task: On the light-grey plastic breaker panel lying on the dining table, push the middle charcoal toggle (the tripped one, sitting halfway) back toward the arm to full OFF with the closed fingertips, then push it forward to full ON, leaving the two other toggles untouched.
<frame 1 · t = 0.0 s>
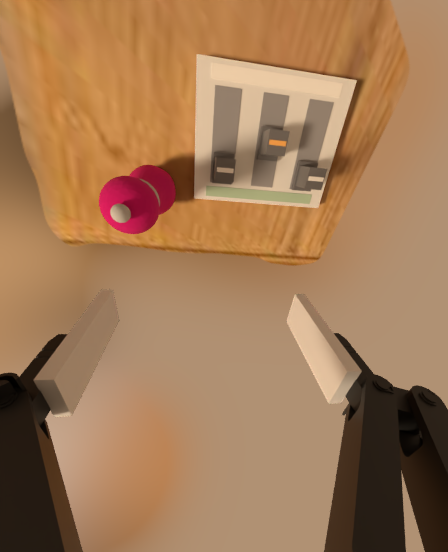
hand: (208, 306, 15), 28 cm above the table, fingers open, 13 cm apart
breaker c: (309, 177, 34), point 4 cm above the table, slide at 4.0 cm
breaker a: (223, 169, 32), point 5 cm above the table, slide at 4.0 cm
breaker tripped: (272, 143, 31), point 4 cm above the table, slide at 0.0 cm
panel: (264, 145, 35), on the table
pepper mill: (157, 187, 37), on the table
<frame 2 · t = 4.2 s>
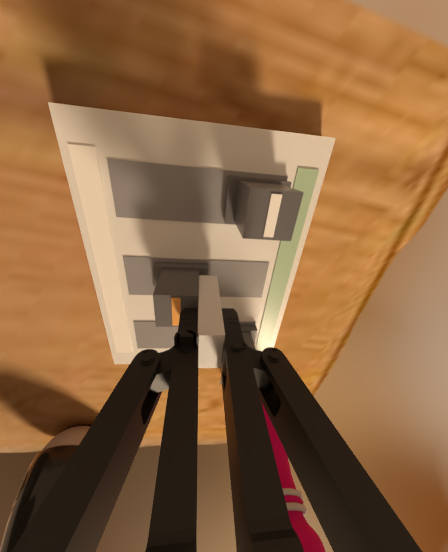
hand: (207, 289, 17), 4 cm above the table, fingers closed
breaker c: (262, 207, 14), point 5 cm above the table, slide at 4.0 cm
breaker a: (236, 353, 21), point 5 cm above the table, slide at 4.0 cm
breaker tripped: (179, 293, 16), point 5 cm above the table, slide at -1.5 cm, touching gripper
panel: (198, 268, 21), on the table
pepper mill: (249, 378, 31), on the table
black glossy egg shape: (87, 432, 34), on the table
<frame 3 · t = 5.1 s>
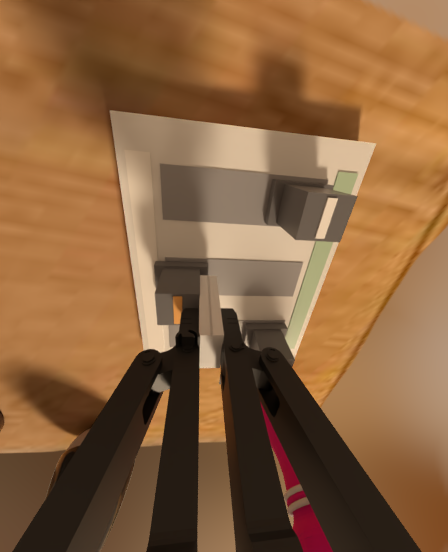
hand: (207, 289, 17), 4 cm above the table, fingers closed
breaker c: (308, 210, 14), point 4 cm above the table, slide at 4.0 cm
breaker a: (268, 350, 21), point 4 cm above the table, slide at 4.0 cm
breaker tripped: (180, 292, 17), point 4 cm above the table, slide at -4.8 cm, touching gripper
panel: (231, 268, 21), on the table
pepper mill: (271, 375, 31), on the table
black glossy egg shape: (109, 431, 34), on the table
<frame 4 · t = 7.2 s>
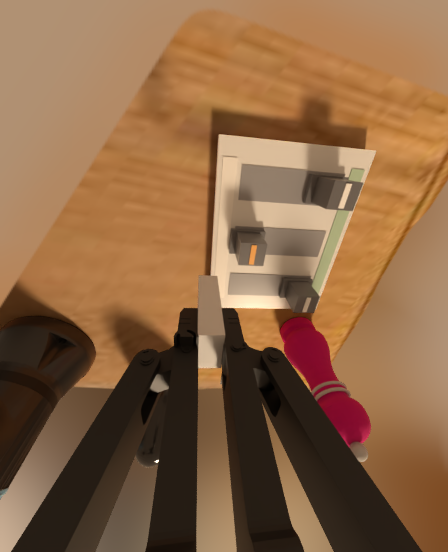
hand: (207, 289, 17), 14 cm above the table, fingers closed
breaker c: (333, 192, 23), point 5 cm above the table, slide at 4.0 cm
breaker a: (300, 295, 30), point 5 cm above the table, slide at 4.0 cm
breaker tripped: (249, 247, 26), point 5 cm above the table, slide at -4.6 cm
panel: (274, 237, 30), on the table
pepper mill: (295, 328, 40), on the table
black glossy egg shape: (166, 372, 44), on the table
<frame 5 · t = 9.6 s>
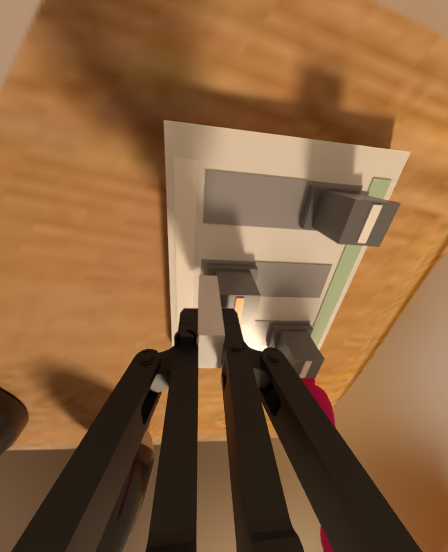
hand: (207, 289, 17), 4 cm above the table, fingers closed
breaker c: (347, 215, 15), point 4 cm above the table, slide at 4.0 cm
breaker a: (295, 350, 22), point 4 cm above the table, slide at 4.0 cm
breaker tripped: (233, 293, 17), point 4 cm above the table, slide at -3.4 cm, touching gripper
panel: (260, 270, 22), on the table
pepper mill: (289, 375, 32), on the table
black glossy egg shape: (128, 429, 35), on the table
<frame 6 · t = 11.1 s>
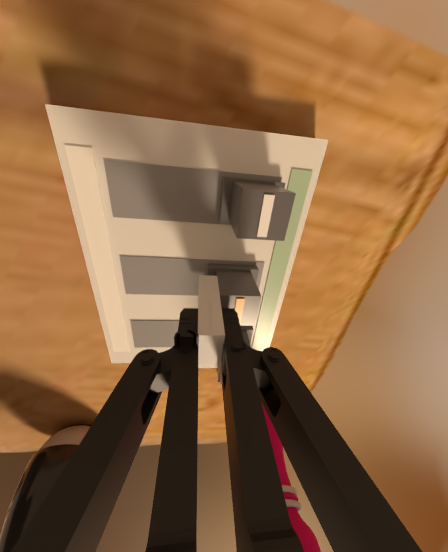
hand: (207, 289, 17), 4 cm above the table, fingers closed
breaker c: (256, 208, 14), point 5 cm above the table, slide at 4.0 cm
breaker a: (232, 352, 21), point 5 cm above the table, slide at 4.0 cm
breaker tripped: (234, 294, 17), point 5 cm above the table, slide at 3.3 cm, touching gripper
panel: (195, 267, 21), on the table
pepper mill: (246, 377, 31), on the table
black glossy egg shape: (84, 431, 34), on the table
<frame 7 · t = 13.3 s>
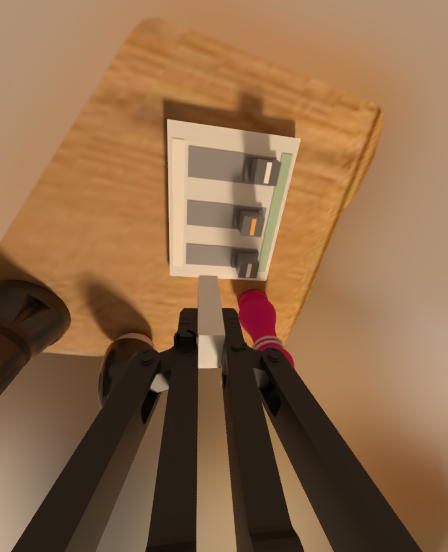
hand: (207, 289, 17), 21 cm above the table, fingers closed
breaker c: (263, 171, 28), point 5 cm above the table, slide at 4.0 cm
breaker a: (246, 264, 35), point 5 cm above the table, slide at 4.0 cm
breaker tripped: (250, 222, 32), point 5 cm above the table, slide at 3.4 cm
panel: (225, 213, 35), on the table
pepper mill: (252, 301, 45), on the table
black glossy egg shape: (137, 341, 48), on the table
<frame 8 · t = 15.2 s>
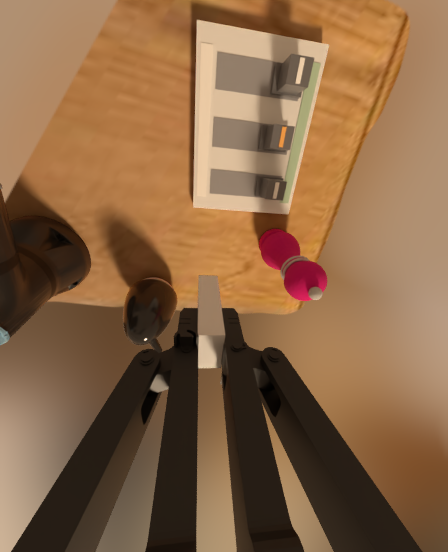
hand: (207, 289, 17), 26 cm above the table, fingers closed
breaker c: (293, 76, 28), point 5 cm above the table, slide at 4.0 cm
breaker a: (271, 188, 35), point 5 cm above the table, slide at 4.0 cm
breaker tripped: (277, 138, 31), point 4 cm above the table, slide at 3.4 cm
panel: (249, 137, 35), on the table
pepper mill: (272, 242, 45), on the table
black glossy egg shape: (156, 289, 48), on the table
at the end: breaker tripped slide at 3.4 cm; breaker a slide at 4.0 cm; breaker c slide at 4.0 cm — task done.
